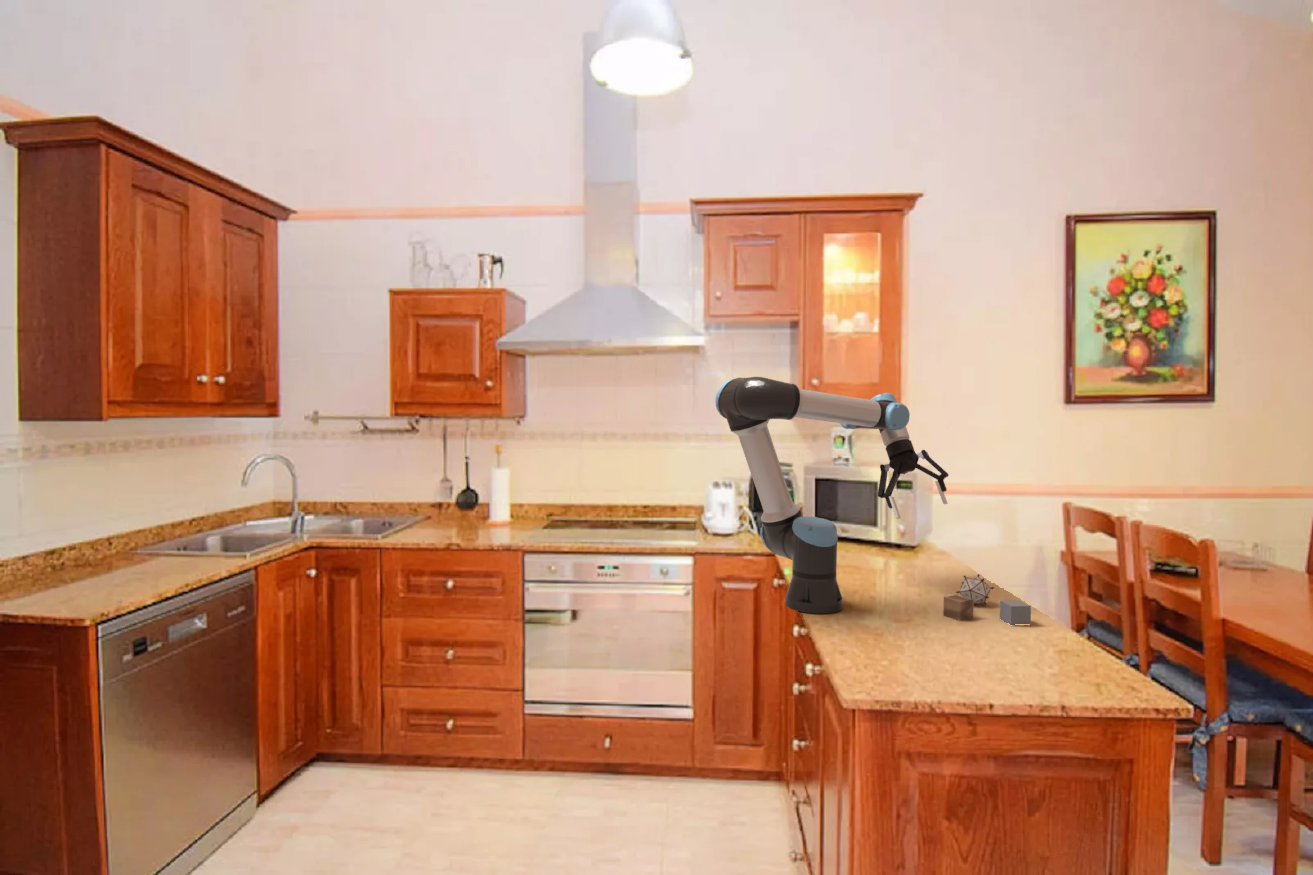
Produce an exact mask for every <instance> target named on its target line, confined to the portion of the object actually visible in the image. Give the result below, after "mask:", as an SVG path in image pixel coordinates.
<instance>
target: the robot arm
mask: <svg viewBox="0 0 1313 875" xmlns="http://www.w3.org/2000/svg"><path fill="white" fill-rule="evenodd" d="M715 407H716V410H717V412H718V413H719V415H720V416H722V417H723V418H724V419H725V420H727V423H728V424H727V425H728V427H729V430H730V432H732V433H733V434H735V435H736V436H737V437H738V439H739V442H740V445H741V448H742V451H743V453H744V454H743V455H744V457H745V460H746V463H747V466H748V468H749V469H748V470H749V472H750V475H751V478H752V481H753V483H754V487H755V489H756V492H757V496H758V498H759V501H760V504H761V507H762V510H763V512H762V514H761V516H760V521H761V527H760V531H759V533H760V539H761V541H762V544H763V545H764V547H765V548H766V549H768V550H769V551H771V552H772V553H773V554H774V555H777V556H780V557H784V558H786V559H789V560H792V570H791V571H792V574H791V579H790V582H789V585H788V588H787V591H786V593H785V603H784V604H785V606H786V607H787V608H788V609H791V610H794V611H796V612H800V613H807V614H808V613H809V614H817V615H818V614H819V615H820V614H821V615H823V614H832V613H837V612H840V611H842V610H843V609H844V608H843V607H844V606H843V605H844V604H843V603H844V602H843V601H844V600H843V597H842V596H843V595H842V594H841V591H840V587H839V584H838V581H837V580H838V578H837V566H838V565H837V561H838V554H837V553H838V540H839V536H838V530H837V529H838V528H837V526H836V524H834V523H835V522H833V521H830V520H829V519H826V518H822V517H817V516H808V515H807V516H805V515H803V514H802V513H803V512H802V510H801V507H800V506H799V505H798V504H796V503H794V502H793V500H792V497H791V493H790V492H789V491H790V490H789V487H788V485H787V482H786V479H785V475H784V472H783V470H782V467H781V464H780V460H779V458H778V454H777V451H776V448H775V445H774V443H773V439H772V436H771V432H770V430H769V428H768V424H769V422H770V420H787V421H792V420H793V419H794V418H800V419H806V420H807V419H808V420H816V421H822V422H823V421H824V422H828V423H829V422H831V423H837V424H840V425H841V427H842V428H843V429H846V430H856V429H867V430H868V429H871V430H878V432H879V433H880V436H881V440H882V442H883V445H884V446H885V451H886V454H887V457H888V461H889V463H886V464H882V463H881V464H880V465H879V468H880V477H879V485H878V490H877V497H878V498H880V499H885V501H886V504H887V507H888V508H889V509H892V510H893V513H894V517H895V518H896V519H898V520H899V519H901V514H900V512H899V508H898V506H897V503H896V500H895V497H894V496H893V495H892V494H893V492H894V489H895V486H896V485H897V483H898V480H899V478H900V476H901V475H905V474H908V473H909V472H910V473H911V472H914V471H915V470H916V469H917V470H919V471H921V472H923V473H925V474H926V475H928V476H930V477H931V478H933V479H935V480H936V481H934V482H935V486H936V488H937V490H938V493H939V496H940V499H941V501H942V504H944V505H948V500H947V498H946V495H945V492H947V491H948V489H947V486H946V483H945V479H946V478H948V477H949V472H947V471H946V470H945V469H944V468H943V467H941V465H939V464H938V463H937V462H936V461H935V460H933V459H932V457H930V455H929V453H928V451H927V450H925V449H922V450H921V451H920V452H918V453H916V451H915V448H914V445H913V443H912V440H910V434H909V431H908V429H907V425H908V424H909V421H910V410H909V408H908V407H907V406H906V405H905V404H903V403H901V402H898V401H897V399H896V397H895V395H894V394H893V393H890V392H884V393H880V394H876V395H875V396H873V397H872V398H871V399H867V398H860V397H854V396H847V395H842V394H841V395H840V394H835V393H829V392H823V391H815V390H809V389H803V388H802V389H801V388H800V387H799V386H798V385H797V384H795V383H788V382H784V381H782V380H781V381H780V380H776V379H772V378H768V377H764V376H763V377H762V376H751V377H750V376H749V377H736V378H732V379H730V380H726V381H725V382H724V383H722V384H721V385H720V387H719V388H718V390H717V392H716V395H715ZM920 458H921V459H922V460H926V461H927V463H929V464H930V465H931V466H933V468H934V469H935V470H937V472H939V473H940V474H938V473H935V472H933V471H932V470H930V469H928V468H926V467H924V466H923V465H921V464H919V463H918V462H919V459H920ZM890 468H891V469H893V471H892V474H891V477H890V480H889V482H888V485H887V480H888V472H889V471H890ZM886 486H887V488H886Z"/></svg>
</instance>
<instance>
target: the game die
mask: <svg viewBox="0 0 1313 875" xmlns="http://www.w3.org/2000/svg"><path fill="white" fill-rule="evenodd" d="M963 578H964V580H963V581H962V582H961V584H962V585H961V586H960V589H959V591H957V590H956V592H955V593H956V594H960V596H963V597H967V598H970V599H974V604H983V603H984V605H985V606H988V604H987V602H986V601H987V599H989V598H990V597H989V594H990V593H991V590H994V589H995V587H994V586H990V585H989V584H988V583H987V582H986V581H985V578H981V577H980V573H978V574H977V576H969V577H967V576H966V575H963Z"/></svg>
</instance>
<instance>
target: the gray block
mask: <svg viewBox="0 0 1313 875" xmlns="http://www.w3.org/2000/svg"><path fill="white" fill-rule="evenodd" d="M1031 612H1032V606H1031V605H1030V604H1027V603H1026V602H1023V601H1022V600H1017V599H1016V600H1009V599H1008V600H999V620H1000V619H1001V620H1003V621H1004V622H1003V621H1002V622H1003V623H1005V622H1006V623H1009V624H1010V625H1015V624H1030V625H1031V623H1032V621H1031V617H1032V615H1031V614H1032V613H1031ZM1001 620H1000V621H1001ZM1006 623H1005V624H1006ZM1010 625H1009V626H1010Z"/></svg>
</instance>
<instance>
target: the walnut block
mask: <svg viewBox="0 0 1313 875" xmlns="http://www.w3.org/2000/svg"><path fill="white" fill-rule="evenodd" d="M942 612H943V614H942V616H943V617H946V618H949V619H952V620H955V621H958V622H962V621H968V620H972V619H974V599H970V598H967V597H964V596H963V595H959V594H954V595H948V596H943V611H942Z"/></svg>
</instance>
